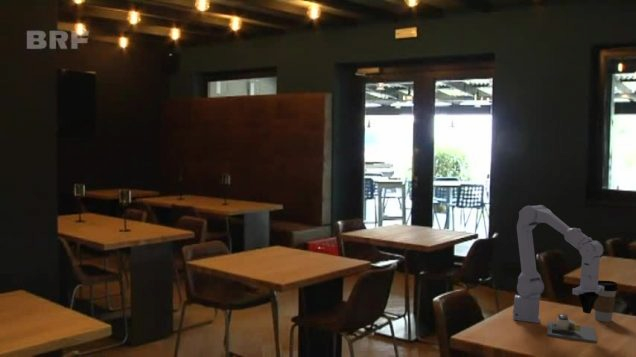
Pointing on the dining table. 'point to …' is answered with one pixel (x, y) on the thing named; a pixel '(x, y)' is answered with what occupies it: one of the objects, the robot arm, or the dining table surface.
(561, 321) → the plug
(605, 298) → the coffee cup
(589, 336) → the panel
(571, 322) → the clip
